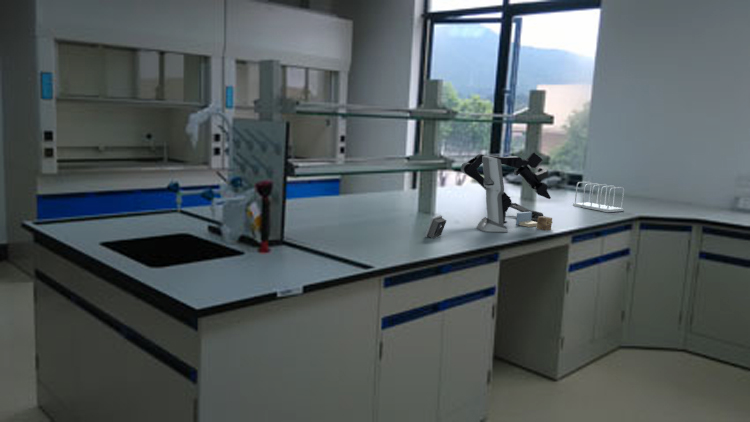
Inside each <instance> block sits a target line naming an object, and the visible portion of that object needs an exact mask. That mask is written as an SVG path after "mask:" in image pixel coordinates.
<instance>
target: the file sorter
mask: <svg viewBox="0 0 750 422" xmlns="http://www.w3.org/2000/svg"><path fill="white" fill-rule="evenodd" d="M583 183H586V184H585V185H584V188H583V195H582V196H583V198H582V202H577V194H578V186H579V184H583ZM587 186H589V195H588V201H587V202H585V195H586V194H585V193H586V187H587ZM600 186H602V187H601V190H600ZM595 187H598V190H597V197H596V203H594V202H593V196H594V189H595ZM604 188H605V195H604V196H605V197H604V204H601V200H602V195H603V194H602V193H603V190H604ZM608 188H610V189H609V192H608ZM616 189H622V197H621V203H620V207H618V206H617V207H616V206H614V205H615V199H616V198H615V197H616ZM612 190H614V191H613V198H612V199H613V200H612V201H613V202H612V206H610V199H611V191H612ZM599 192H600V193H599ZM607 193H608V198H607ZM599 194H600V196H599ZM624 195H625V188H624V187H621V186H617V187H616V186H615V185H613V184H612V185H608V184H607V183H603V184H599V182H595V183H593V182H591V181H578V182H577V183H576V187H575V197H574V202H572V206H573V207H576V208H577V207H579V208H584V209H589V210H593V211H594V210H596V211H599V212H604V213H613V212H614V213H615V212H616V213H617V212H624V208H623V204H624V197H625V196H624ZM607 199H608V200H607ZM598 201H599V203H598ZM606 202H607V205H606Z"/></svg>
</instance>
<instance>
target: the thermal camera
mask: <svg viewBox="0 0 750 422" xmlns="http://www.w3.org/2000/svg"><path fill="white" fill-rule="evenodd" d="M482 161H483V163H482V170H483V178H484V182H483V183H484V187H486V190H485V203H486V214H487V215H486V217H483V218H481V220H480V221H479V222H478V224H477V225H476V229H477V230H479V231H481V232H485V233H508V227H507V226H505V225H504V224H505V223H503V210H502V194H503V193H504V192H505V184H504V176H503V167H502V164H501V160H500V159H497V158H493V157H489V156H482Z"/></svg>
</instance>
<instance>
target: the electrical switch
mask: <svg viewBox="0 0 750 422" xmlns="http://www.w3.org/2000/svg"><path fill="white" fill-rule="evenodd" d="M446 224H447V219H445V218H443V215H437V216H433V217H431V218H430V220H429V223H428V226H427V229H426V231H425V235H424V237H425V238H427V237H428V238H429V237H430V238H432V239H436V238H437V237H441V236H442V233H443V231H444V228H445V227H446V226H445V225H446Z"/></svg>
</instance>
